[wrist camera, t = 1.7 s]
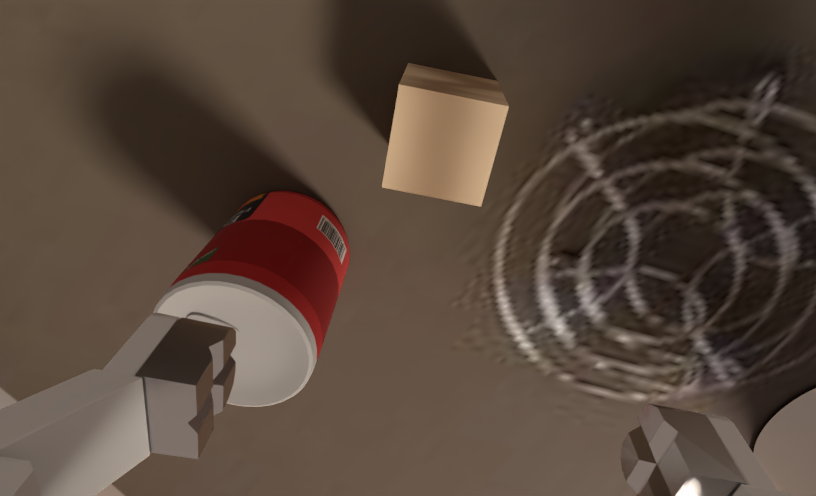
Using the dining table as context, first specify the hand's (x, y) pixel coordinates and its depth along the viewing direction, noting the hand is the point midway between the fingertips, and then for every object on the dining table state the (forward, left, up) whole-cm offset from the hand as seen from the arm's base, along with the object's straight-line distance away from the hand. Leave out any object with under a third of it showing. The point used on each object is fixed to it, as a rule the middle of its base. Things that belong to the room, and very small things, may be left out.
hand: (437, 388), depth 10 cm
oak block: (0, 0, -22) cm, 22 cm away
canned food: (+8, +10, -22) cm, 25 cm away
